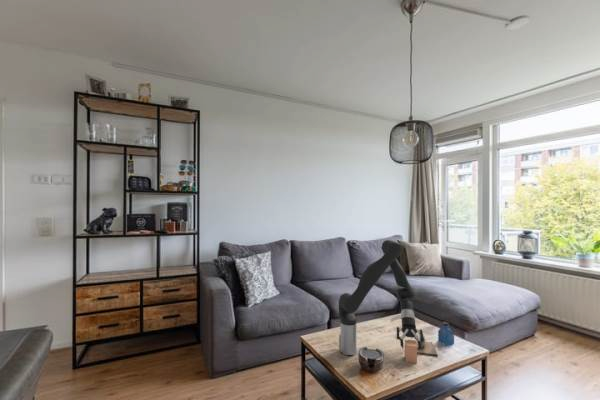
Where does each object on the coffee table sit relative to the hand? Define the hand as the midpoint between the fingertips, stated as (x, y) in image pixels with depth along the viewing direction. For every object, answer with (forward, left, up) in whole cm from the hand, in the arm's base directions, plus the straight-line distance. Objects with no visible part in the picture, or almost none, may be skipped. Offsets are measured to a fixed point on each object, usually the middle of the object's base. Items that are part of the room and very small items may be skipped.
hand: (411, 348), depth 153 cm
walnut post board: (+3, +17, -7) cm, 19 cm away
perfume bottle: (+14, +33, -7) cm, 36 cm away
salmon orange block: (0, +1, -7) cm, 7 cm away
